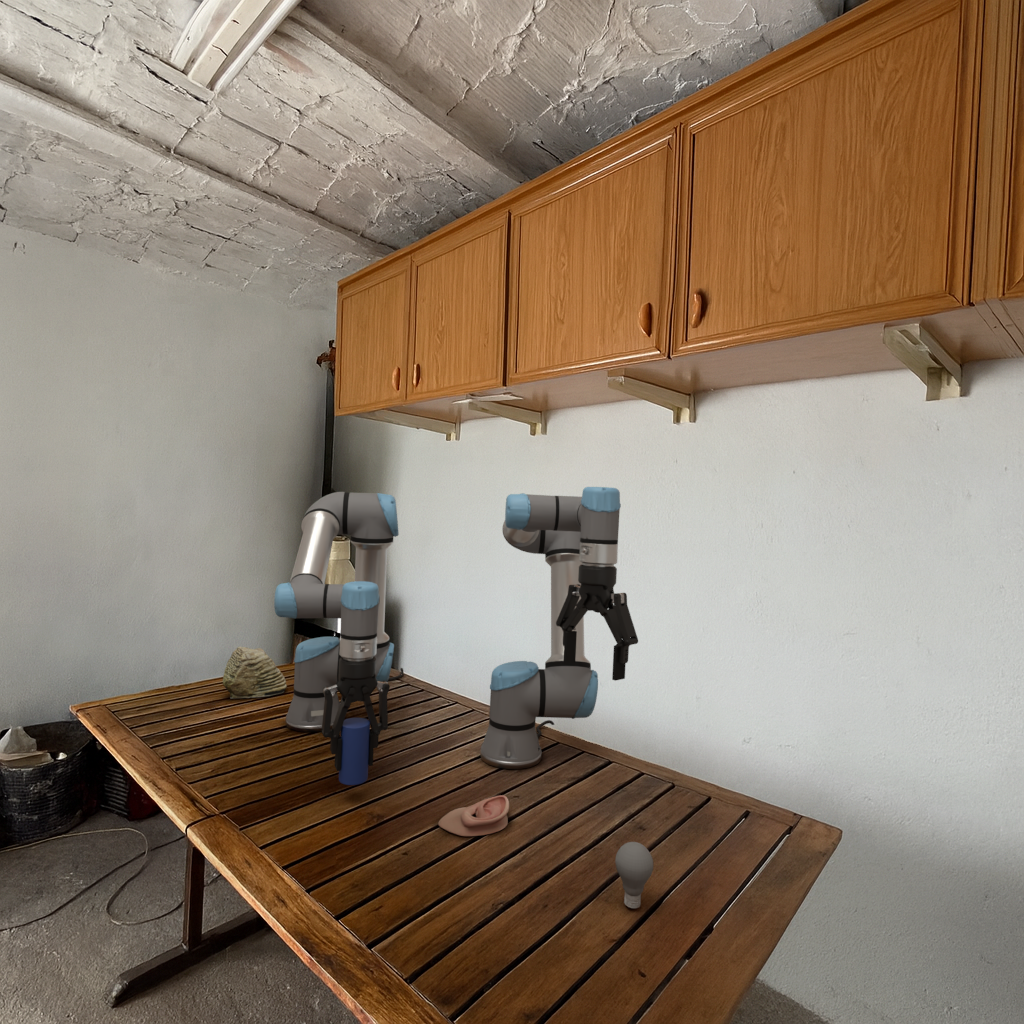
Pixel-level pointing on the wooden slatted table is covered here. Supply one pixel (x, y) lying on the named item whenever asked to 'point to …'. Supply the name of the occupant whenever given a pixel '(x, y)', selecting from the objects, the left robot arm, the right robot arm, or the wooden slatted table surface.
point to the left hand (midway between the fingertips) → (353, 765)
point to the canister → (354, 751)
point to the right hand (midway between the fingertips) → (592, 670)
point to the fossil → (252, 674)
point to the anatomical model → (478, 817)
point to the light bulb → (633, 871)
